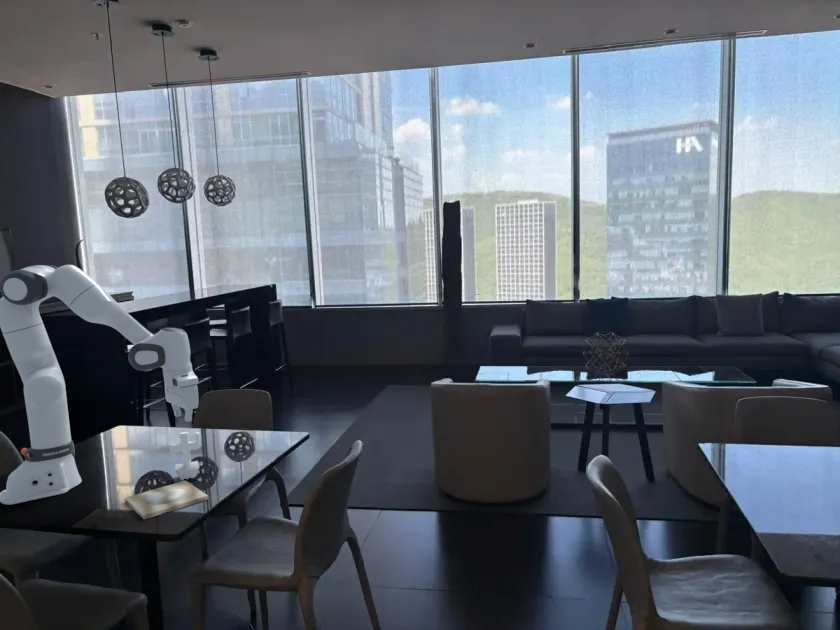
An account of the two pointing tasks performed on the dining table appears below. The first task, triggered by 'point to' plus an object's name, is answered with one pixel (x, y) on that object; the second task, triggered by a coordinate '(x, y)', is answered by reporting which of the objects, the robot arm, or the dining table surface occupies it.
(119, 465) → the dining table surface
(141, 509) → the oak board
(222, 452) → the dining table surface
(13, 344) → the robot arm
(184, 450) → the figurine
